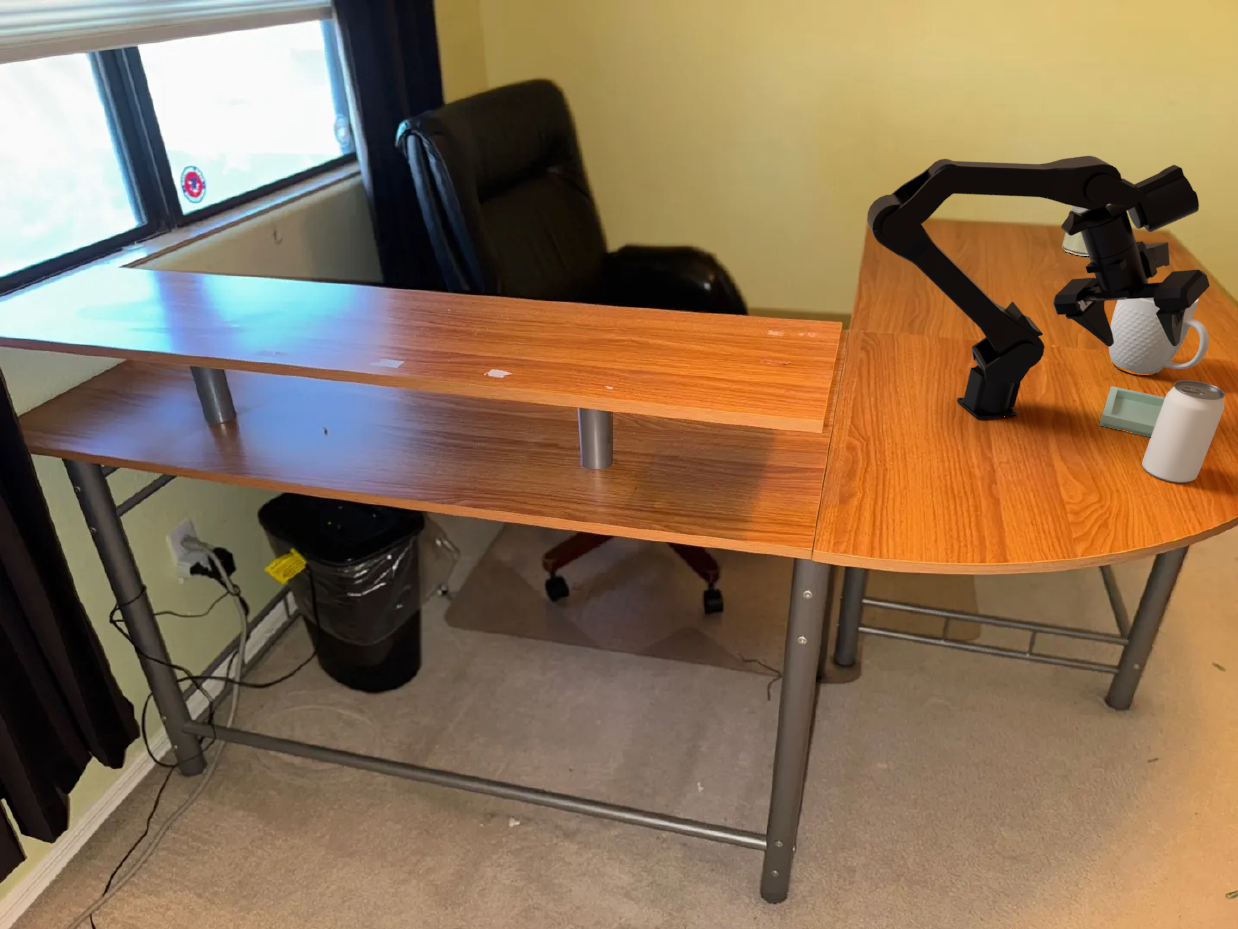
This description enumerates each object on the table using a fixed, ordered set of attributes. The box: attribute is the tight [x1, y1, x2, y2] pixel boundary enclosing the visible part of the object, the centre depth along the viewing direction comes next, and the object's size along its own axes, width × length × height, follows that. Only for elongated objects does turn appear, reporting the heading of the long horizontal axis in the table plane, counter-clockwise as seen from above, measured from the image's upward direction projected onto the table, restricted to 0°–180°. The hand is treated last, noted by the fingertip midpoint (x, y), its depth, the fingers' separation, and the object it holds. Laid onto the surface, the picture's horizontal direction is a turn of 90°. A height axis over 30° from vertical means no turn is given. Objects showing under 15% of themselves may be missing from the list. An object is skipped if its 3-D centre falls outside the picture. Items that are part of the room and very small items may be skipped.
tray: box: [1098, 385, 1166, 438], centre depth 129 cm, size 12×12×2 cm
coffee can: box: [1061, 204, 1111, 257], centre depth 205 cm, size 10×10×14 cm
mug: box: [1108, 298, 1210, 374], centre depth 142 cm, size 15×11×13 cm
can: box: [1141, 379, 1226, 484], centre depth 113 cm, size 6×6×12 cm
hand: (1142, 344), depth 124 cm, fingers open, 9 cm apart
